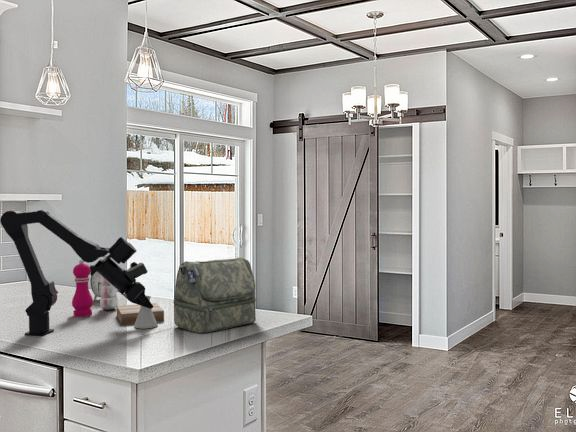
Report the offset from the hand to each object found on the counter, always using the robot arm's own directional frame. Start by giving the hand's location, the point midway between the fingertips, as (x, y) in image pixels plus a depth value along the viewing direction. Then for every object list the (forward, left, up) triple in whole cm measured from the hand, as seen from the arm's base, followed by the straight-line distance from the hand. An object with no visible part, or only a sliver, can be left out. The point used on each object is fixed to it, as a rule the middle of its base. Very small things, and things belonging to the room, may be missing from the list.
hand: (149, 305), depth 200 cm
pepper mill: (+16, +31, -7) cm, 36 cm away
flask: (-1, +1, -7) cm, 7 cm away
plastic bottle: (+27, +26, -7) cm, 38 cm away
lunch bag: (+3, -21, -7) cm, 22 cm away
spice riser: (+13, +8, -7) cm, 16 cm away
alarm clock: (+48, +37, -7) cm, 61 cm away
